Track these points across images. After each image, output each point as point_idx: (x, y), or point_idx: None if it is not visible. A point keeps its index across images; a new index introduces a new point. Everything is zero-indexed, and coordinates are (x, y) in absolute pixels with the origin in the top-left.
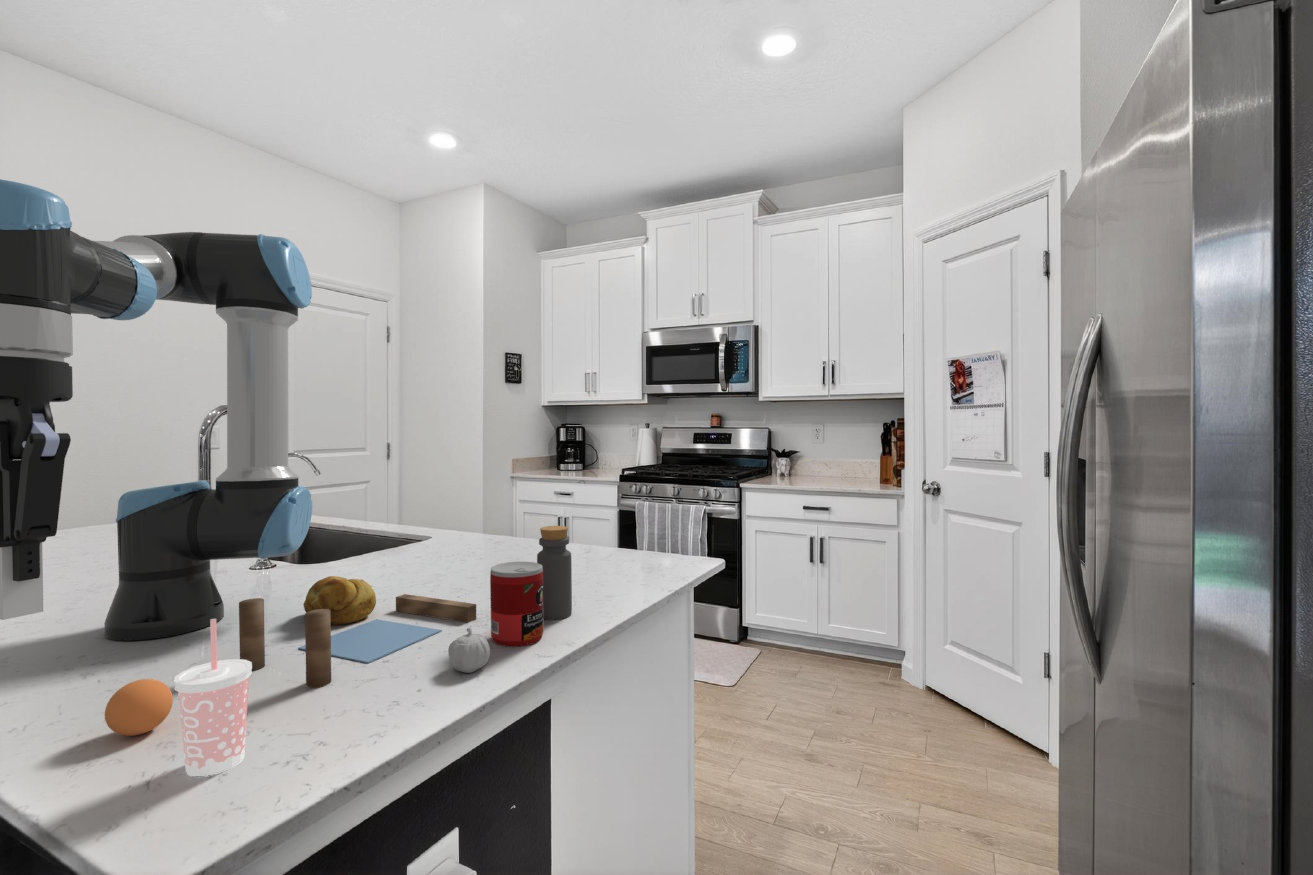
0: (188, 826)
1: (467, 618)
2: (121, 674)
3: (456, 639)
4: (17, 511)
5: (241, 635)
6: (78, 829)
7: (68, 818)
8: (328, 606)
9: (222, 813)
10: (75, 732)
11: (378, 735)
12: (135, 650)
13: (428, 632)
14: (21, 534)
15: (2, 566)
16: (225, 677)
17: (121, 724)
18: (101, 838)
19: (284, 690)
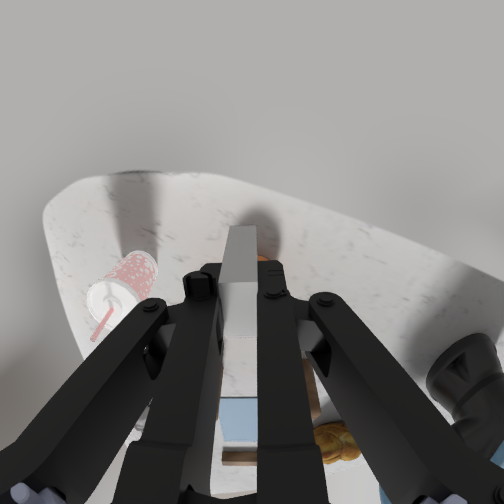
0: (77, 220)
1: (223, 454)
2: (401, 313)
3: (141, 421)
4: (129, 341)
5: (307, 383)
6: (127, 183)
7: (148, 185)
8: (321, 435)
9: (75, 236)
10: (310, 245)
11: (93, 328)
12: (438, 336)
13: (229, 436)
14: (136, 307)
15: (222, 263)
16: (94, 304)
17: None
18: (104, 187)
19: (225, 352)
